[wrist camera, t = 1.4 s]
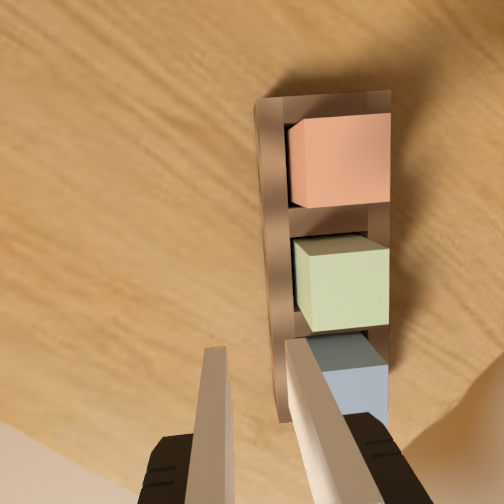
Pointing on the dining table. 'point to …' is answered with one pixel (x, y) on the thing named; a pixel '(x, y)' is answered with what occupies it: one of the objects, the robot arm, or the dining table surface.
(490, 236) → the dining table surface
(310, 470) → the robot arm
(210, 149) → the dining table surface
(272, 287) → the wooden cube holder tray
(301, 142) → the salmon pink cube
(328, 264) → the pastel lime cube
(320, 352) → the pale blue-grey cube
